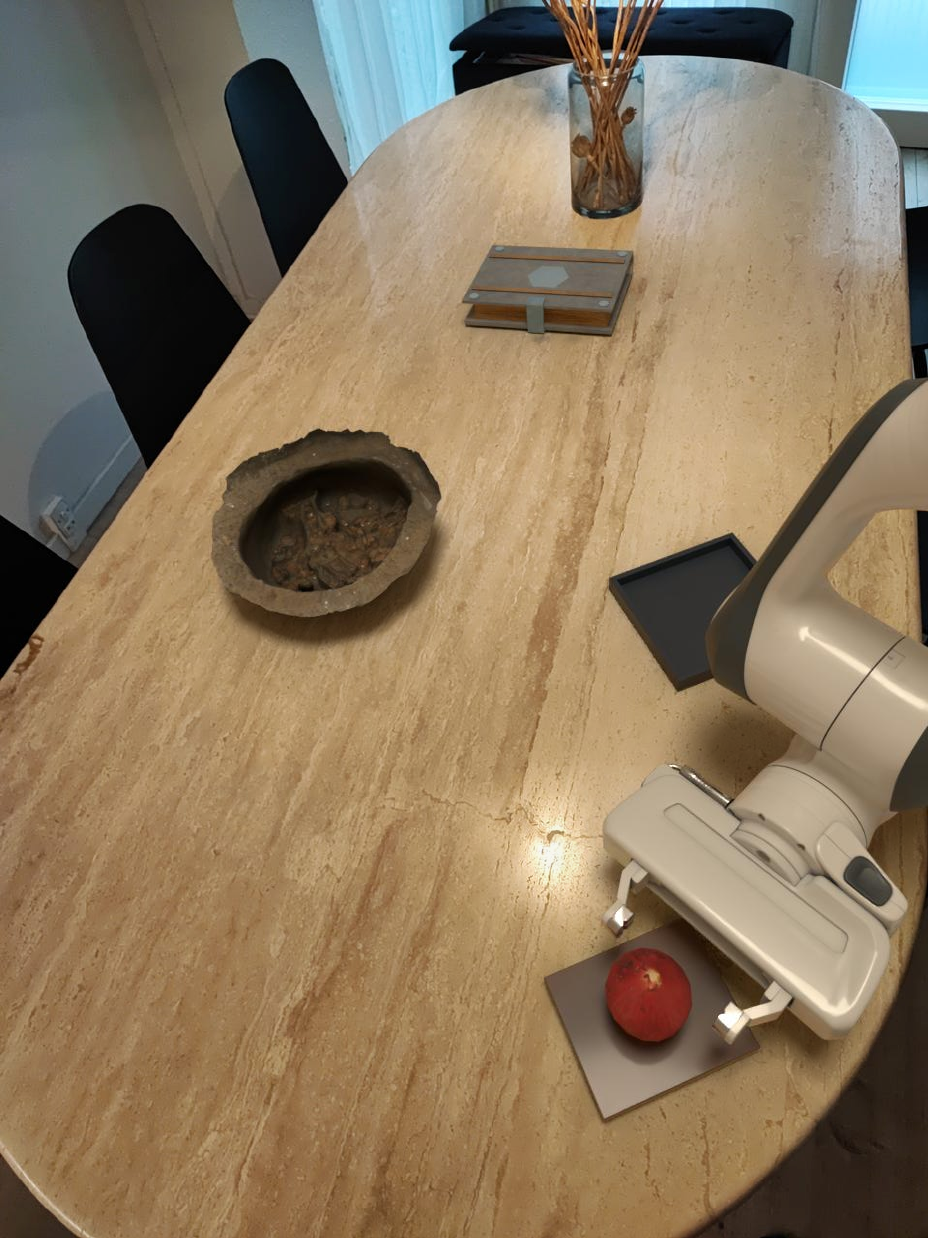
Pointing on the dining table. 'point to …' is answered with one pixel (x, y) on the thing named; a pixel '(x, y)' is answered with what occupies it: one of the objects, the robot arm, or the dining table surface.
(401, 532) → the stone bowl
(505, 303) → the book
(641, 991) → the onion
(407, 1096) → the dining table surface
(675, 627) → the tray
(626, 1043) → the board
